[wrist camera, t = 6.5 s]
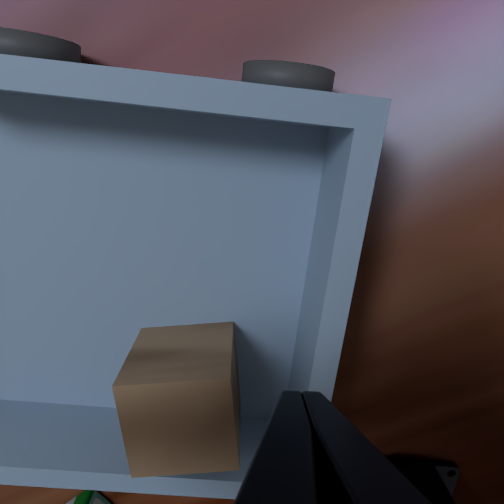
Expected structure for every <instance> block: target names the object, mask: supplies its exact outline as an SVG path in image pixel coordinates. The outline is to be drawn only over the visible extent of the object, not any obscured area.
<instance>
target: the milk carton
mask: <svg viewBox="0 0 504 504" xmlns="http://www.w3.org/2000/svg"><path fill="white" fill-rule="evenodd" d="M65 504H111V503H110V502H109V501H108V500H107V499H105V498H104V497H103V496H102V495H101V494H99V493H98V492H97V491H96V490H85V491H84V492H82V493H81V494H79V495H78V496H76V497H75V498H73V499H71V500H70V501H68V502H67V503H65Z"/></svg>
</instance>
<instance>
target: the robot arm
mask: <svg viewBox="0 0 504 504" xmlns="http://www.w3.org/2000/svg"><path fill="white" fill-rule="evenodd" d="M459 474H460V471H459V469H458V467H457V466H456V464H455V463H454V462H449V461H435V460H420V459H406V458H392V457H385V456H384V455H383V454H382V453H381V452H380V451H379V450H378V449H377V448H376V447H375V446H374V445H373V444H372V443H371V442H370V441H369V440H368V439H367V438H366V437H365V436H364V435H363V434H362V433H361V432H360V431H359V430H358V429H357V428H356V427H355V426H354V425H353V424H352V423H351V422H350V421H349V420H348V419H347V418H346V417H345V416H344V415H343V414H342V413H341V412H340V411H339V410H338V409H337V408H336V407H335V406H334V405H333V404H332V403H331V402H330V401H329V400H328V399H327V398H326V397H325V396H324V395H323V394H322V393H321V392H318V391H302V392H300V391H298V390H282V391H281V392H280V394H279V397H278V399H277V402H276V404H275V406H274V409H273V411H272V413H271V416H270V418H269V420H268V423H267V425H266V428H265V430H264V432H263V435H262V437H261V439H260V442H259V444H258V446H257V449H256V451H255V454H254V456H253V458H252V461H251V463H250V465H249V468H248V470H247V472H246V475H245V477H244V480H243V482H242V484H241V487H240V489H239V491H238V494H237V496H236V498H235V501H234V504H456V503H455V501H454V499H453V497H452V495H453V492H454V489H455V486H456V483H457V480H458V477H459Z"/></svg>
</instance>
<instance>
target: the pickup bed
mask: <svg viewBox="0 0 504 504" xmlns="http://www.w3.org/2000/svg"><path fill="white" fill-rule="evenodd" d="M334 76H335V72H334V71H332V70H330V69H327V68H324V67H320V66H316V65H310V64H304V63H297V62H288V61H276V60H253V61H247V62H244V63H243V73H242V82H240V81H232V80H223V79H214V78H206V77H197V76H188V75H180V74H171V73H162V72H154V71H145V70H136V69H128V68H119V67H110V66H102V65H93V64H84V63H81V47H80V46H79V45H78V44H76V43H73V42H70V41H67V40H64V39H60V38H56V37H52V36H48V35H43V34H39V33H34V32H28V31H22V30H16V29H10V28H2V27H0V484H2V485H18V486H34V487H50V488H66V489H82V490H97V491H113V492H129V493H145V494H161V495H177V496H193V497H208V498H224V499H235V498H236V496H237V494H238V491H239V489H240V487H241V484H242V482H243V480H244V477H245V475H246V472H247V470H248V468H249V465H250V463H251V461H252V458H253V456H254V454H255V451H256V449H257V446H258V444H259V442H260V439H261V437H262V435H263V432H264V430H265V428H266V425H267V423H268V420H269V418H270V416H271V413H272V411H273V409H274V406H275V404H276V402H277V399H278V397H279V394H280V392H281V391H282V390H298V391H300V392H302V391H318V392H321V393H322V394H323V395H324V396H325V397H326V398H327V399H328V400H329V401H330V402H331V400H332V395H333V390H334V385H335V380H336V375H337V370H338V365H339V360H340V355H341V350H342V345H343V340H344V335H345V330H346V324H347V319H348V314H349V309H350V304H351V299H352V294H353V289H354V284H355V279H356V274H357V269H358V264H359V259H360V254H361V249H362V244H363V239H364V234H365V229H366V224H367V219H368V214H369V209H370V204H371V199H372V194H373V189H374V184H375V179H376V174H377V169H378V164H379V159H380V154H381V149H382V144H383V139H384V134H385V129H386V124H387V118H388V113H389V108H390V103H391V99H388V98H379V97H371V96H362V95H353V94H345V93H336V92H332V89H333V82H334ZM219 322H233V323H234V333H235V344H236V354H237V365H238V375H239V386H240V397H241V411H240V470H239V471H224V472H210V473H196V474H181V475H167V476H153V477H138V478H131V474H130V469H129V465H128V460H127V455H126V450H125V446H124V441H123V436H122V432H121V427H120V422H119V418H118V413H117V408H116V404H115V399H114V394H113V390H112V385H113V383H114V381H115V379H116V377H117V375H118V373H119V371H120V369H121V367H122V365H123V363H124V361H125V359H126V358H127V356H128V354H129V352H130V350H131V348H132V346H133V344H134V342H135V340H136V338H137V336H138V334H139V332H140V330H141V328H149V327H163V326H177V325H191V324H205V323H219Z"/></svg>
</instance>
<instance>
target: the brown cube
mask: <svg viewBox="0 0 504 504" xmlns="http://www.w3.org/2000/svg"><path fill="white" fill-rule="evenodd" d="M112 390H113V394H114V399H115V404H116V408H117V413H118V418H119V422H120V427H121V432H122V436H123V441H124V446H125V450H126V455H127V460H128V465H129V469H130V474H131V478H138V477H153V476H167V475H181V474H196V473H210V472H224V471H239V470H240V411H241V397H240V386H239V375H238V365H237V354H236V344H235V333H234V323H233V322H219V323H205V324H191V325H177V326H163V327H149V328H141V330H140V332H139V334H138V336H137V338H136V340H135V342H134V344H133V346H132V348H131V350H130V352H129V354H128V356H127V358H126V359H125V361H124V363H123V365H122V367H121V369H120V371H119V373H118V375H117V377H116V379H115V381H114V383H113V385H112Z"/></svg>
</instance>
